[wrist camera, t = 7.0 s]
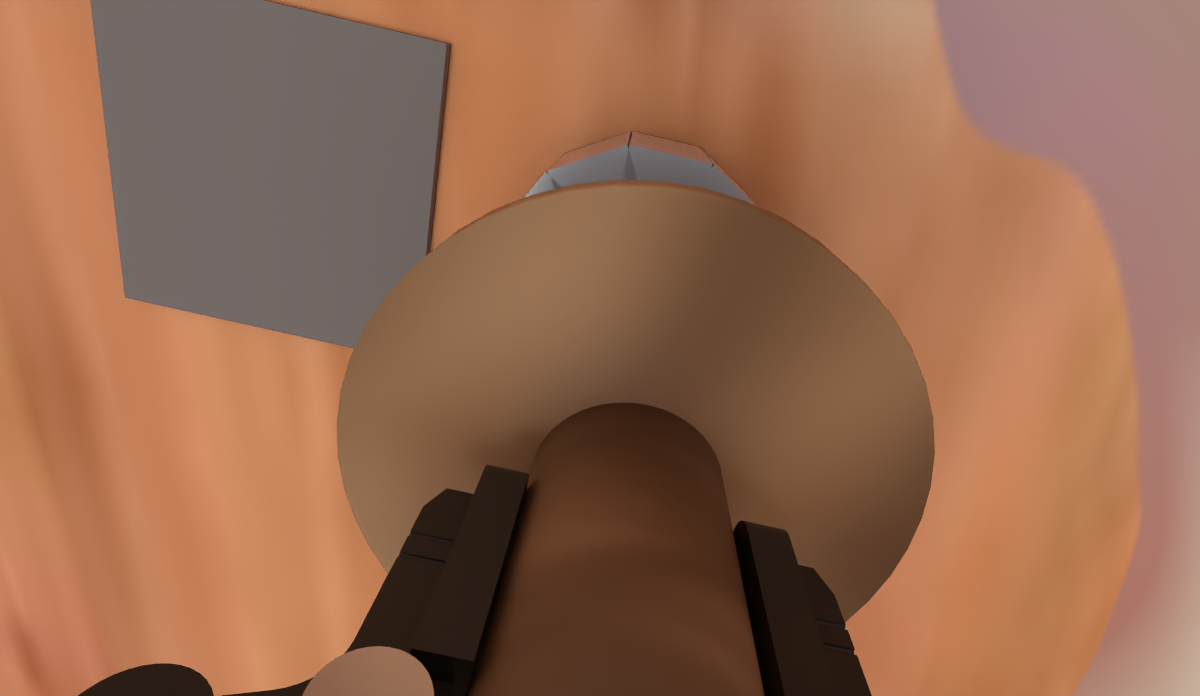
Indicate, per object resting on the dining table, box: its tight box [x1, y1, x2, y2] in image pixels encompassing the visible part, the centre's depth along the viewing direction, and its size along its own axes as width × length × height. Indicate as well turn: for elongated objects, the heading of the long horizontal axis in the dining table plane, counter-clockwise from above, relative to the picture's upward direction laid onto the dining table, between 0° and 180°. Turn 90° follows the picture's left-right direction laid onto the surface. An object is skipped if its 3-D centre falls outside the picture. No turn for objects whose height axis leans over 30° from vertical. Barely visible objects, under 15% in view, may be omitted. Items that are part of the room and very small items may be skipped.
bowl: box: [524, 131, 758, 207], centre depth 23 cm, size 10×10×5 cm
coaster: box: [91, 0, 451, 348], centre depth 25 cm, size 13×13×1 cm
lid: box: [337, 180, 935, 696], centre depth 9 cm, size 11×11×8 cm
